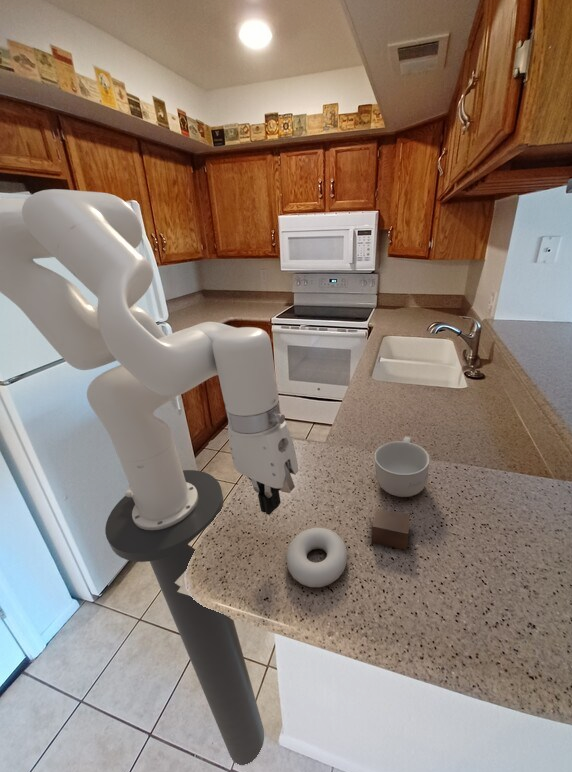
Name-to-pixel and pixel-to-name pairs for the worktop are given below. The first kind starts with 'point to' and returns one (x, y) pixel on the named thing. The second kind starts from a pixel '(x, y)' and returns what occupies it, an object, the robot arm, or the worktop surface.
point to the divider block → (390, 529)
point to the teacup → (402, 467)
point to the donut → (317, 571)
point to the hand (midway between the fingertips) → (271, 507)
